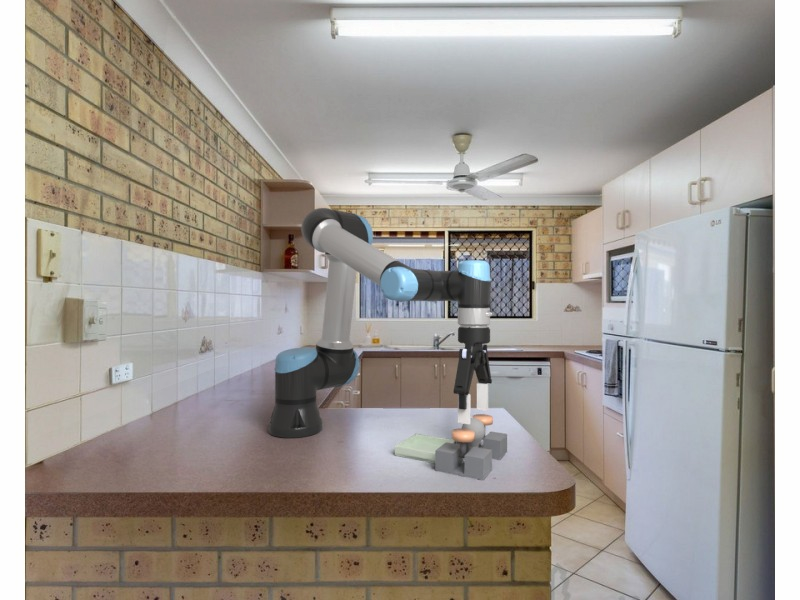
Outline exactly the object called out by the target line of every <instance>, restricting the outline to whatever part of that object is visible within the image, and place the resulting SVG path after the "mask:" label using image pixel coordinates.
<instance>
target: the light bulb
mask: <svg viewBox="0 0 800 600" xmlns="http://www.w3.org/2000/svg"><path fill="white" fill-rule="evenodd" d="M461 429H470V430H473V431H474V432H475V440H474V441H472V442H467V444H468V447H469V450H468V451H470V450H471V449H472V448H473V447H479V444H480V442H483V440H482V439H483V437H484V435H485V436H486V426H485V427H484V424H483V423H482V422H481V421H480V420H479V419H476V418H473V417H470V424H463V423H462V426H461Z"/></svg>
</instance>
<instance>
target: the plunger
mask: <svg viewBox="0 0 800 600" xmlns="http://www.w3.org/2000/svg"><path fill="white" fill-rule="evenodd" d="M451 440H454V441H456V442H457V441H458V442H460V457H461V458H463V459H465V455H466V442H472V441H474V440H475V432H474V431H473V430H470V429H462V428H456V429H452V431H451Z"/></svg>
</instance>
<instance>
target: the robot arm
mask: <svg viewBox="0 0 800 600" xmlns="http://www.w3.org/2000/svg"><path fill="white" fill-rule="evenodd" d="M372 227H373V226H372V225H371V224H370V222H369V221H368V219H367V218H366V217H364V216H362V215H360V214H356V213H353V212H347V211H342V210H336V209H332V208H328V207H319V208H314V209H313V210H311V211H309V212H308V213H307V214H305V217H304V218H303V220H302V222H301V229H300V230H301V234H302V237H303V239H304V241H305V242H306V243H307V245H309V246H310V247H312V249H314V250H316V251H317V252H319V253H321V254H322V253H323V254H324V257H326V259H327V260H328V269H327V281H326V289H325V301H324V302H325V303H324V312H323V323H322V332H321V333H322V335H321V338H320V339H318V340H317V341H316V343H315V347H309V346H307V347H305V346H302V347H294V348H289V349H286V350H282V351H281V352H279V353H278V354H277V355H276V357H275V365H274V372H275V373H274V375H275V376H274V377H275V379H274V383H275V384H274V391H275V392H274V400H275V401H274V407H273V411H272V413H271V417H270V421H269V422H268V433H269V435H271V436H274V437H278V438H285V439H287V438H289V439H290V438H291V439H292V438H295V439H296V438H304V437H309V436H314V435H316V434H319V433H320V432H321V431H323V420H322V418H321V413H320V410H319V407H318V403H317V391H320V390H325V389H332V388H339V387H343V386H345V385H348V384H350V383H352V382H353V381H354V380H355V379H356V378H357V376H358V374H359V371H360V359H359V358H358V353H357V351H356V350H354V346H355V345H354V344H353V343H352V342H351V341H350V339H351V338H350V336H351V328H352V320H353V319H352V318H353V308H354V298H355V289H356V278H357V273H359V274H360V275H362V276H363V277H365V278H366V279H368V280H370V281H371V282H373V283H374V284H376V285H377V286H378V287H380V291H381V292H382V293H383V296H384V297H385V298H386V299H388V300H390V301H396V302H399V303H400V302H401V303H404V302H418V301H419V302H433V303H435V302H453V301H454V302H457V324H458V326H459V327H457V341H458V342H459V343H460V344H464V348H459V350H458V363H457V368H456V375H455V380H454V385H453V394H456V395H457V423H458V424H462V425H463V424H470V418H471V410H472V409H471V401H472V400H471V394H470V390H471V389H470V388H471V386H472V381H473V377H474V375H476V377H477V378H476V379H477V383H476V410H478V411H486V412H488V411H489V384H492V382H493V379H492V375H491V368H490V362H489V356H488V344H489V343H490V342H491V328H490V327H488V326H489V325H491V317H492V316H493V313H492V311H491V304H490V303H491V281H492V278H491V269H490V268H491V267H490V263H489V262H487V261H486V260H479V259H478V260H476V259H475V260H473V259H471V260H461V261H459V262H458V264H457V268H456V269H454V270H432V269H431V270H430V269H422V268H421V269H420V268H413V267H411V266H408V265H407V264H405V263H403V262H402V261H401V260H398V259H397V258H395V257H392V256H391V255H390V254H389V253H386V252H385V251H382V250H380V249H379V248H377V247H376V246H373V245H372V244H373V240H374V234H373V233H374V232H373V228H372ZM474 373H475V374H474Z"/></svg>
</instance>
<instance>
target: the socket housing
mask: <svg viewBox="0 0 800 600" xmlns="http://www.w3.org/2000/svg"><path fill="white" fill-rule="evenodd" d="M481 442H482V443H481ZM481 442H480V444H479V447H473V448H472V449H471V450H470V451H468V450H469V447H468V444H467V442H466V455H465V458H461V457H460V442H458V441H456V444H454V443H448V442H446V443H444V444H443V445H442V446H441V447H439V448H438V449H437V450H435V463H434V464H435V466H434V467H435V469H434V471H435V472H440V473H445V474H449V475H450V474H452V475H456V476H460V477H465V478H471V479H476V480H481V481H485V479H486V478H487V477H488V475H490V473H491V472H492V471H493V459H494V460H499V461H501V460H502V458H504V456H506V454H507V453H508V434H507V433H503V432H495V431H489V433H487V434H485V437H484V438H483V440H482V441H481Z"/></svg>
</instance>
